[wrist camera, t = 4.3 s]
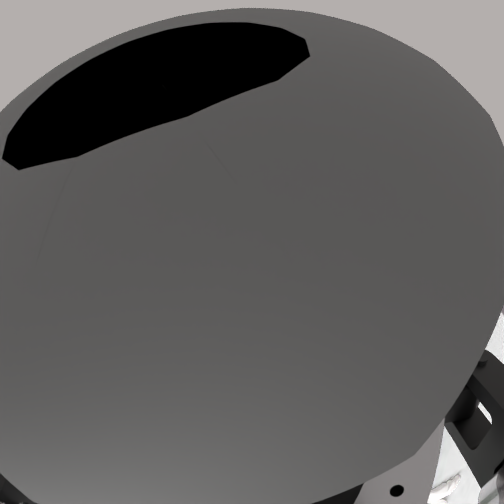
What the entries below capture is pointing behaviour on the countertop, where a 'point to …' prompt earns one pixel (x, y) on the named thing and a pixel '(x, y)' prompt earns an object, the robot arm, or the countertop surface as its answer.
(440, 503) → the acanthus leaf ornament
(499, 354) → the countertop surface
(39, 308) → the candle holder
